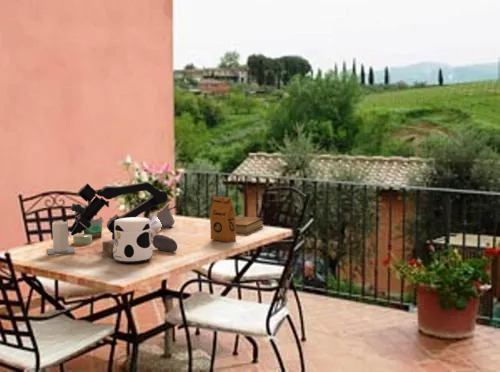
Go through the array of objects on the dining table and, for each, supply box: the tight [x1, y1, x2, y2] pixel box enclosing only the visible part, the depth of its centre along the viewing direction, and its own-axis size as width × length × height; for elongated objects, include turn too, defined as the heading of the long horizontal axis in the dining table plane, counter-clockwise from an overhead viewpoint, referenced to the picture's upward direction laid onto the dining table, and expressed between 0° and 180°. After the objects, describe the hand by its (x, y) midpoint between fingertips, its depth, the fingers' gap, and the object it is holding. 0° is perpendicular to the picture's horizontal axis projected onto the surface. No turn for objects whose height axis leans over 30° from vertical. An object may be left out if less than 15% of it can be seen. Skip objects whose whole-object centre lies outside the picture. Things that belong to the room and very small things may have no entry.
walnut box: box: [102, 239, 115, 260], centre depth 287 cm, size 6×6×7 cm
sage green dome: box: [72, 233, 93, 246], centre depth 316 cm, size 9×9×4 cm
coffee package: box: [209, 196, 237, 243], centre depth 319 cm, size 10×12×22 cm
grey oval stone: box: [152, 234, 178, 253], centre depth 298 cm, size 15×5×7 cm, turn 46°
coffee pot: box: [156, 201, 187, 229], centre depth 355 cm, size 21×12×15 cm, turn 57°
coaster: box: [46, 246, 76, 256], centre depth 298 cm, size 12×12×1 cm
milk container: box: [113, 216, 154, 264], centre depth 278 cm, size 17×17×18 cm
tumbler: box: [51, 221, 70, 252], centre depth 297 cm, size 6×6×13 cm
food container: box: [83, 216, 104, 240], centre depth 328 cm, size 12×6×10 cm, turn 143°
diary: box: [235, 215, 264, 235], centre depth 350 cm, size 23×19×6 cm
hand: (70, 233), depth 298 cm, fingers open, 9 cm apart
